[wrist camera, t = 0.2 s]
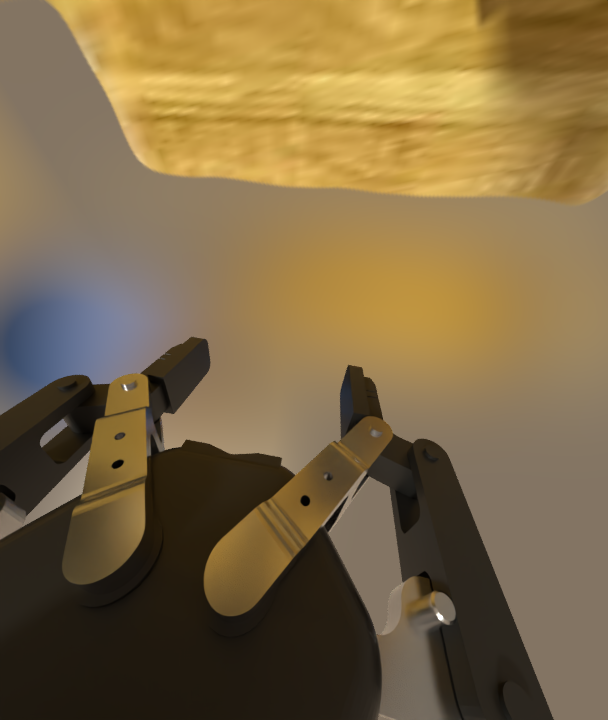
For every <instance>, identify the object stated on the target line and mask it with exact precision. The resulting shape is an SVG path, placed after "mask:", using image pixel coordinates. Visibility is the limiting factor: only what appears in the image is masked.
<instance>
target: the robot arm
mask: <svg viewBox="0 0 608 720" xmlns="http://www.w3.org/2000/svg"><path fill="white" fill-rule="evenodd" d="M209 368H210V356H209V349H208V342H207V340H206V339H201V338H195V337H191V338H189V339H188V340H187V341H186V342H185V343H183V344H179V345H177V346H175V347H172V348H171V349H170V350H168V351H167V352H166V353H165V355H162V356H161V357H160V359H158V360H156V361H155V362H154V363H153V364H151V365H150V366H149V367H148V368H146V369H145V370H144V371H143V372H142V373H140V374H128V375H124V376H122V377H119V378H117V379H115V380H114V381H113V382H112V383H111V384H97V385H93V384H92V382H91V381H90V379H89V377H87V376H84V375H72V376H67V377H63V378H60V379H58V380H55V381H54V382H52V383H50V384H48V385H47V386H45V387H44V388H42V389H41V390H39V391H38V392H36V393H34V394H33V395H31V396H30V397H28V398H27V399H25V400H23V401H22V402H20V403H19V404H17V405H16V406H14V407H13V408H11V409H9V410H8V411H7V412H5V413H3V414H2V415H0V720H378V715H379V716H382V717H385V718H388V719H391V720H554V719H553V717H552V714H551V712H550V710H549V707H548V705H547V702H546V699H545V697H544V694H543V692H542V689H541V687H540V684H539V682H538V680H537V677H536V674H535V672H534V670H533V667H532V664H531V662H530V659H529V657H528V654H527V652H526V649H525V647H524V644H523V642H522V639H521V637H520V634H519V632H518V629H517V627H516V624H515V622H514V619H513V617H512V614H511V612H510V609H509V607H508V604H507V602H506V599H505V597H504V594H503V592H502V589H501V587H500V584H499V582H498V579H497V577H496V574H495V572H494V569H493V567H492V564H491V562H490V559H489V556H488V554H487V551H486V549H485V547H484V544H483V541H482V539H481V537H480V534H479V531H478V529H477V526H476V524H475V521H474V519H473V517H472V514H471V511H470V509H469V507H468V504H467V501H466V499H465V497H464V494H463V492H462V489H461V486H460V484H459V482H458V479H457V476H456V474H455V472H454V469H453V466H452V464H451V461H450V459H449V457H448V455H447V453H446V452H445V451H444V450H443V449H442V448H441V447H440V446H439V445H438V444H436V443H434V442H432V441H430V440H427V439H418V440H416V441H415V442H414V443H411V442H408V441H406V440H404V439H402V438H399V437H398V436H396V435H394V434H393V432H392V429H391V428H390V426H389V425H388V424H387V423H386V422H385V421H384V420H383V417H382V412H381V408H380V403H379V400H378V395H377V390H376V386H375V384H374V382H373V381H372V380H371V379H370V378H367V377H364V375H363V369H362V367H357V366H351V365H348V367H347V370H346V373H345V377H344V380H343V383H342V387H341V392H340V417H341V440H340V441H339V442H338V443H337V442H335V441H333V442H331V443H330V444H329V445H328V446H327V447H326V448H325V449H324V450H322V451H321V452H320V453H319V454H318V455H317V456H316V457H315V458H314V459H313V460H312V461H311V462H310V463H308V464H307V465H306V466H305V467H304V468H303V469H302V470H301V471H300V472H299V473H298V474H297V475H294V474H293V473H292V472H291V471H289V470H288V469H287V468H285V467H283V466H281V460H282V458H280V457H275V456H269V455H264V454H259V453H255V454H235V455H234V454H229V453H226V452H224V451H223V450H221V449H219V448H216V447H215V446H212V445H210V444H207V443H202V442H196V441H191V440H186V441H185V442H184V444H183V445H182V447H178V448H172V449H168V450H165V448H164V438H163V427H162V419H161V415H162V414H163V413H164V412H165V413H171V414H174V413H175V412H176V411H177V409H178V408H179V407H180V406H181V405H182V403H183V402H184V401H185V400H186V398H187V397H188V396H189V395H190V394H191V392H192V391H193V390H194V389H195V387H196V386H197V385H198V384H199V382H200V381H201V380H202V379H203V377H204V376H205V375H206V374H207V372H208V371H209ZM61 419H64V421H65V422H66V423H67V425H68V426H67V427H66V428H65V429H63V430H62V431H61V432H60V433H59V434H57V435H56V436H55V437H54V438H53V439H52V440H50V441H49V442H48V443H47V444H46V445H44V446H43V447H42V448H41V446H40V439H41V437H42V436H43V435H44V433H45V432H47V431H48V430H49V429H50V428H51V427H53V426H54V425H55V424H57V423H58V422H59V421H60V420H61ZM88 451H90V455H89V460H88V465H87V471H86V476H85V481H84V487H83V492H82V494H81V495H79V496H78V497H76V498H74V499H72V500H70V501H69V502H67V503H65V504H63V505H61V506H60V507H58V508H56V509H54V510H52V511H51V512H49V513H47V514H45V515H43V516H41V517H40V518H38V519H36V520H34V521H32V522H31V523H29V524H27V525H25V526H24V527H22V525H23V523H24V521H25V518H26V516H27V515H28V514H29V513H30V512H31V511H32V510H33V509H34V508H35V507H36V506H37V505H38V504H39V503H40V501H41V500H42V499H43V498H44V497H45V496H46V495H47V494H48V493H49V492H50V491H51V490H52V489H53V488H54V487H55V486H56V485H57V484H58V483H59V482H60V481H61V480H62V478H63V477H65V475H66V474H67V473H68V472H69V471H70V470H71V469H72V468H73V467H74V466H75V465H76V464H77V463H78V462H79V461H80V460H81V459H82V458H83V457H84V456H85V455H86V454H87V453H88ZM369 477H372V478H374V479H376V480H377V481H379V482H381V483H383V484H385V485H387V486H389V487H390V493H391V501H392V507H393V515H394V522H395V529H396V537H397V544H398V552H399V558H400V566H401V574H402V581H403V583H402V584H400V585H399V586H397V587H396V588H395V589H394V590H393V591H392V593H391V594H390V597H389V602H388V618H387V623H386V627H385V629H384V631H383V632H382V634H381V635H377V634H376V632H375V629H374V626H373V623H372V620H371V618H370V615H369V613H368V611H367V609H366V607H365V604H364V603H363V601H362V599H361V597H360V595H359V593H358V591H357V589H356V588H355V585H354V583H353V581H352V579H351V577H350V575H349V573H348V571H347V569H346V568H345V565H344V564H343V562H342V560H341V558H340V556H339V554H338V552H337V550H336V548H335V546H334V544H333V542H332V540H331V538H330V536H329V533H330V531H331V530H332V529H333V527H334V526H335V525H336V523H337V522H338V521H339V519H340V518H341V516H342V515H343V513H344V512H345V510H346V508H347V507H348V505H349V504H350V503H351V501H352V500H353V498H354V497H355V496H356V495H357V493H358V492H359V491H360V489H361V488H362V487H363V485H364V484H365V483H366V481H367V480H368V479H369ZM21 527H22V528H21Z"/></svg>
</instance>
